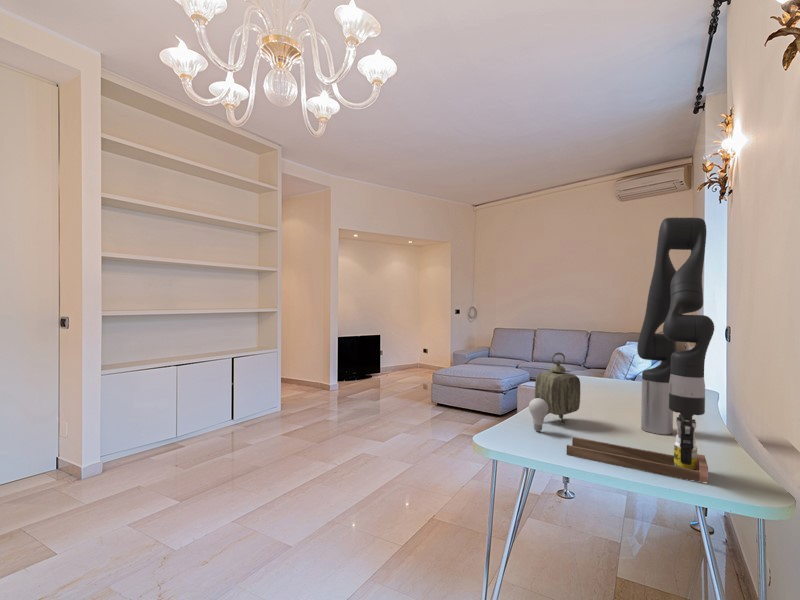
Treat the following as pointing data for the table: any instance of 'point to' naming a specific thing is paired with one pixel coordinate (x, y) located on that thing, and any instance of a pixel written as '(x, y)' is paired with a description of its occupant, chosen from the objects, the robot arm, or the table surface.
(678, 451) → the supplement bottle
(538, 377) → the tabletop clock
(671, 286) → the robot arm
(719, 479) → the table surface
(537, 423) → the lightbulb
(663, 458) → the guide track
